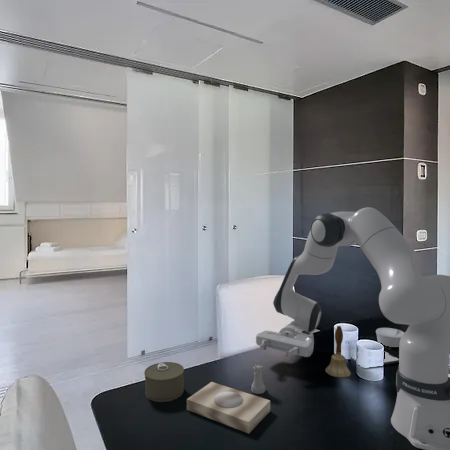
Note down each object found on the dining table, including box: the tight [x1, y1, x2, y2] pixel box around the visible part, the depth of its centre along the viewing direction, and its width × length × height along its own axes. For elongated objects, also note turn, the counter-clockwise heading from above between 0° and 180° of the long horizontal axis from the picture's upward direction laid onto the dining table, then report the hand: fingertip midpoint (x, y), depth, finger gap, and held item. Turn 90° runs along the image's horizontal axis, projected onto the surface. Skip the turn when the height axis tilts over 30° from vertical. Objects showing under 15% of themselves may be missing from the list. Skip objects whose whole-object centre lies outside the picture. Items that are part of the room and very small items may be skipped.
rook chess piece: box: [250, 363, 266, 395], centre depth 112 cm, size 4×4×8 cm
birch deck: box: [186, 381, 271, 435], centre depth 102 cm, size 20×12×3 cm, turn 57°
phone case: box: [349, 351, 399, 364], centre depth 133 cm, size 9×2×16 cm
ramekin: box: [375, 327, 405, 347], centre depth 149 cm, size 11×11×5 cm
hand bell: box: [325, 325, 352, 378], centre depth 125 cm, size 8×8×16 cm
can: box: [144, 361, 185, 403], centre depth 112 cm, size 12×12×7 cm
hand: (274, 350), depth 123 cm, fingers open, 8 cm apart
